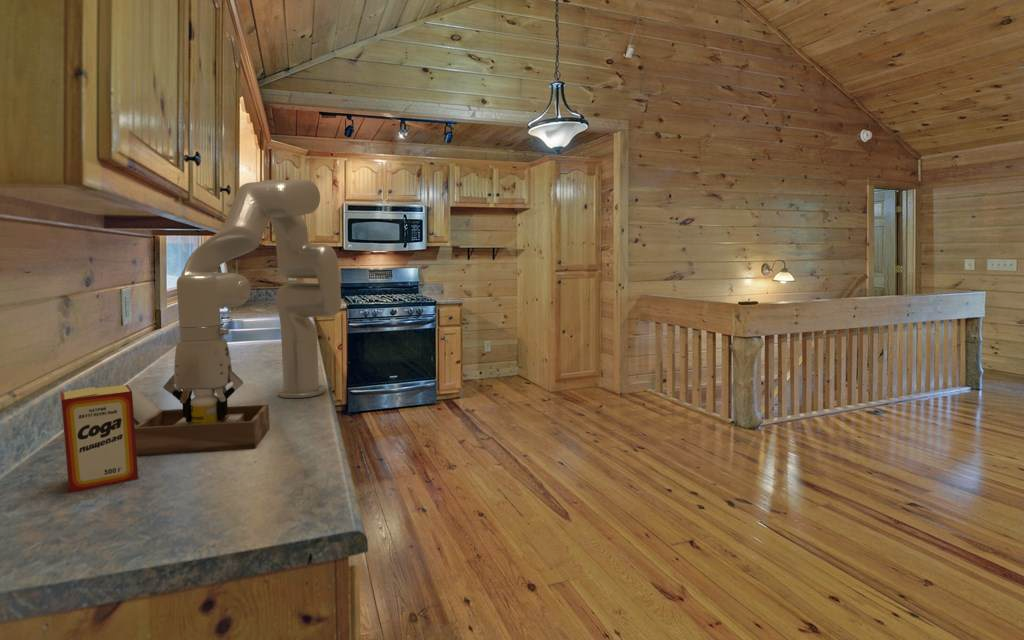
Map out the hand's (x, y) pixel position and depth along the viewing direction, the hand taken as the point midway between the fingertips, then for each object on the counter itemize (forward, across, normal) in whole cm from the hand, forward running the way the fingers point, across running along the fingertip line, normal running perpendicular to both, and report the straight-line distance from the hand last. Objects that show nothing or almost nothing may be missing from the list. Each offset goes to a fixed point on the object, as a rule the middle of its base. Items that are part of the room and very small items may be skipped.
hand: (206, 418), depth 118 cm
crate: (+5, 0, 0) cm, 5 cm away
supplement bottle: (+3, 0, 0) cm, 3 cm away
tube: (+5, +19, -20) cm, 28 cm away
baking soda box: (+5, +11, +19) cm, 23 cm away
